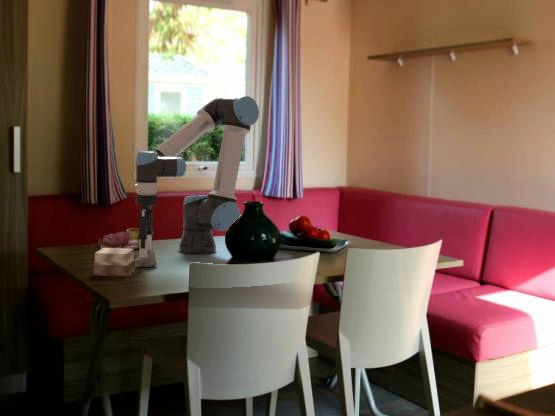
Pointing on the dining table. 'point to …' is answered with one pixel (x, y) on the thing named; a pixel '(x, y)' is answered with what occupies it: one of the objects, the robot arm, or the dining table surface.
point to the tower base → (114, 269)
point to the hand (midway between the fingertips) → (145, 254)
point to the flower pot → (134, 235)
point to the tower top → (114, 256)
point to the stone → (146, 260)
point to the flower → (118, 241)
